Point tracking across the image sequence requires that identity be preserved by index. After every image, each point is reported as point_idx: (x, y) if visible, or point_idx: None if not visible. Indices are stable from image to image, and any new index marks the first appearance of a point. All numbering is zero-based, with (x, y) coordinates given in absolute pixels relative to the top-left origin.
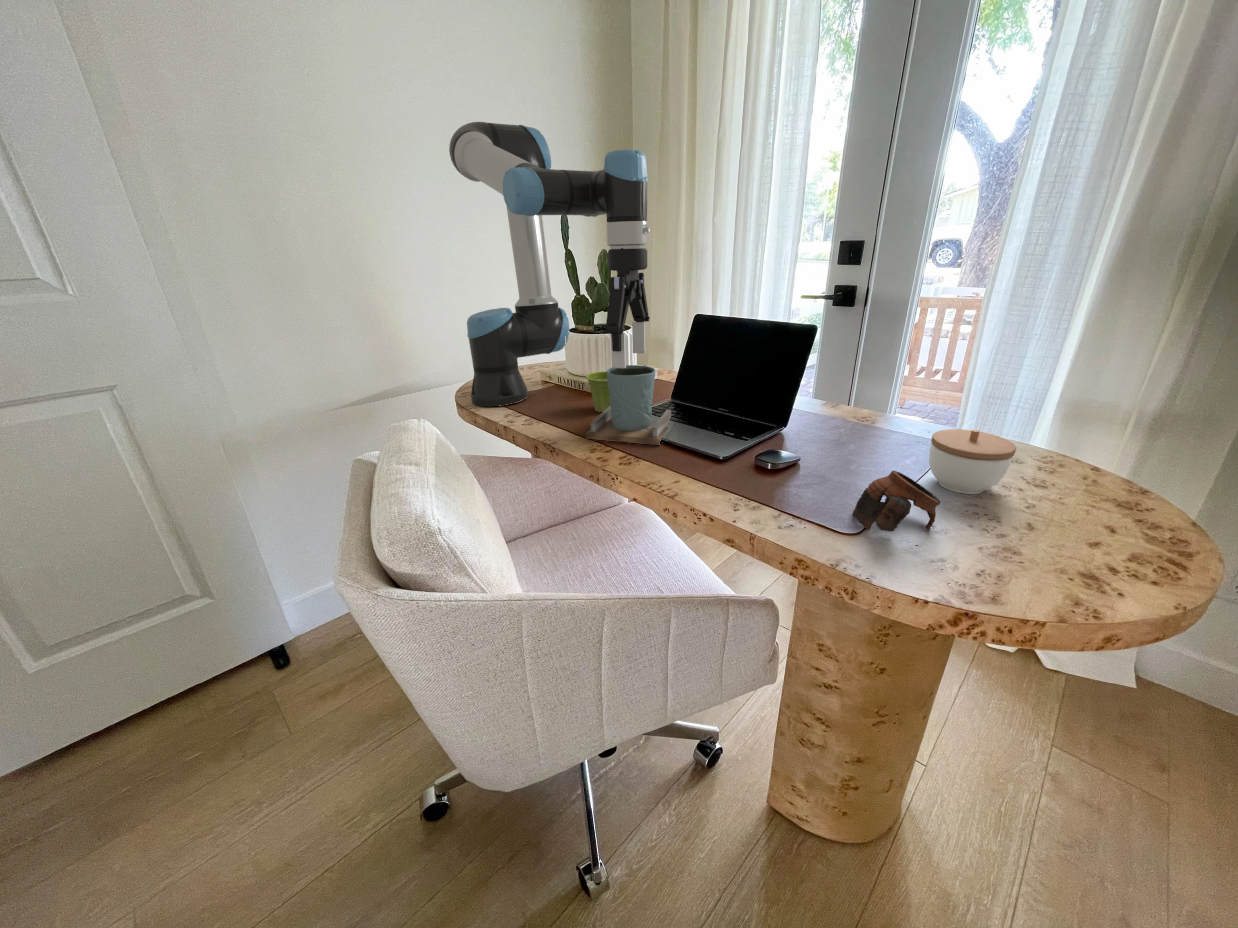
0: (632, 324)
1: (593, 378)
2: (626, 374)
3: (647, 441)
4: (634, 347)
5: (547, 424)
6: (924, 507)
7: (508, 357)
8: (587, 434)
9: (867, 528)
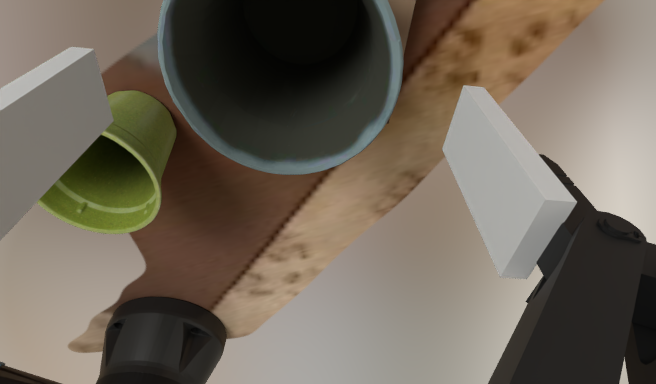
0: (7, 231)
1: (91, 212)
2: (208, 98)
3: None
4: (95, 126)
5: (294, 219)
6: None
7: None
8: (389, 117)
9: None
